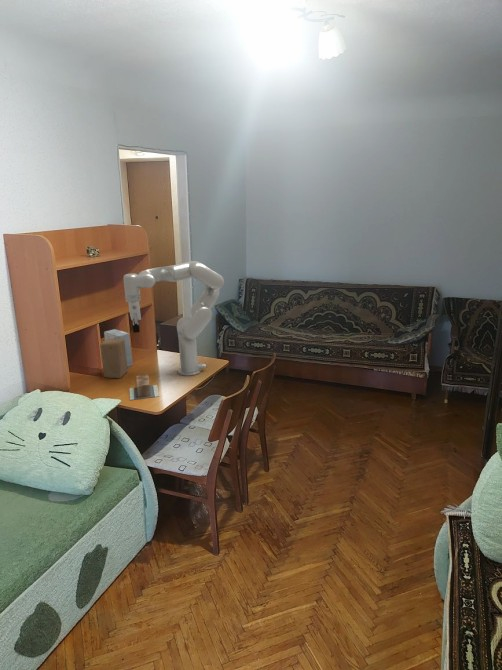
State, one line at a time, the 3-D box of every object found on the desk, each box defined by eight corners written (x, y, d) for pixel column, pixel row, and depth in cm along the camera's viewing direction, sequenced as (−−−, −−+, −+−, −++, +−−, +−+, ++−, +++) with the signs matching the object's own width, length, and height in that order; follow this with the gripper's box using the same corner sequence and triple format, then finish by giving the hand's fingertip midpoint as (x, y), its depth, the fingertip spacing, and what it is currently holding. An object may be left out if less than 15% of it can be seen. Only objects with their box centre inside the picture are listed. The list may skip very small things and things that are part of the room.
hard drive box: (133, 365, 269) (129, 333, 263) (122, 369, 263) (118, 336, 257) (118, 359, 279) (114, 328, 272) (107, 363, 273) (103, 331, 267)
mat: (157, 385, 240) (157, 384, 240) (159, 396, 228) (158, 395, 227) (129, 388, 237) (129, 388, 237) (130, 400, 224) (130, 399, 224)
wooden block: (120, 378, 250) (116, 344, 244) (103, 377, 252) (99, 343, 246) (128, 372, 259) (124, 338, 253) (112, 371, 261) (108, 337, 255)
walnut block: (148, 374, 239) (149, 384, 226) (149, 385, 240) (150, 395, 227) (136, 375, 237) (137, 386, 224) (137, 386, 239) (138, 397, 226)
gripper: (141, 300, 229) (144, 335, 234) (139, 294, 243) (142, 327, 248) (126, 301, 227) (129, 336, 232) (124, 295, 240) (128, 328, 246)
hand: (136, 332), depth 240 cm, fingers closed
